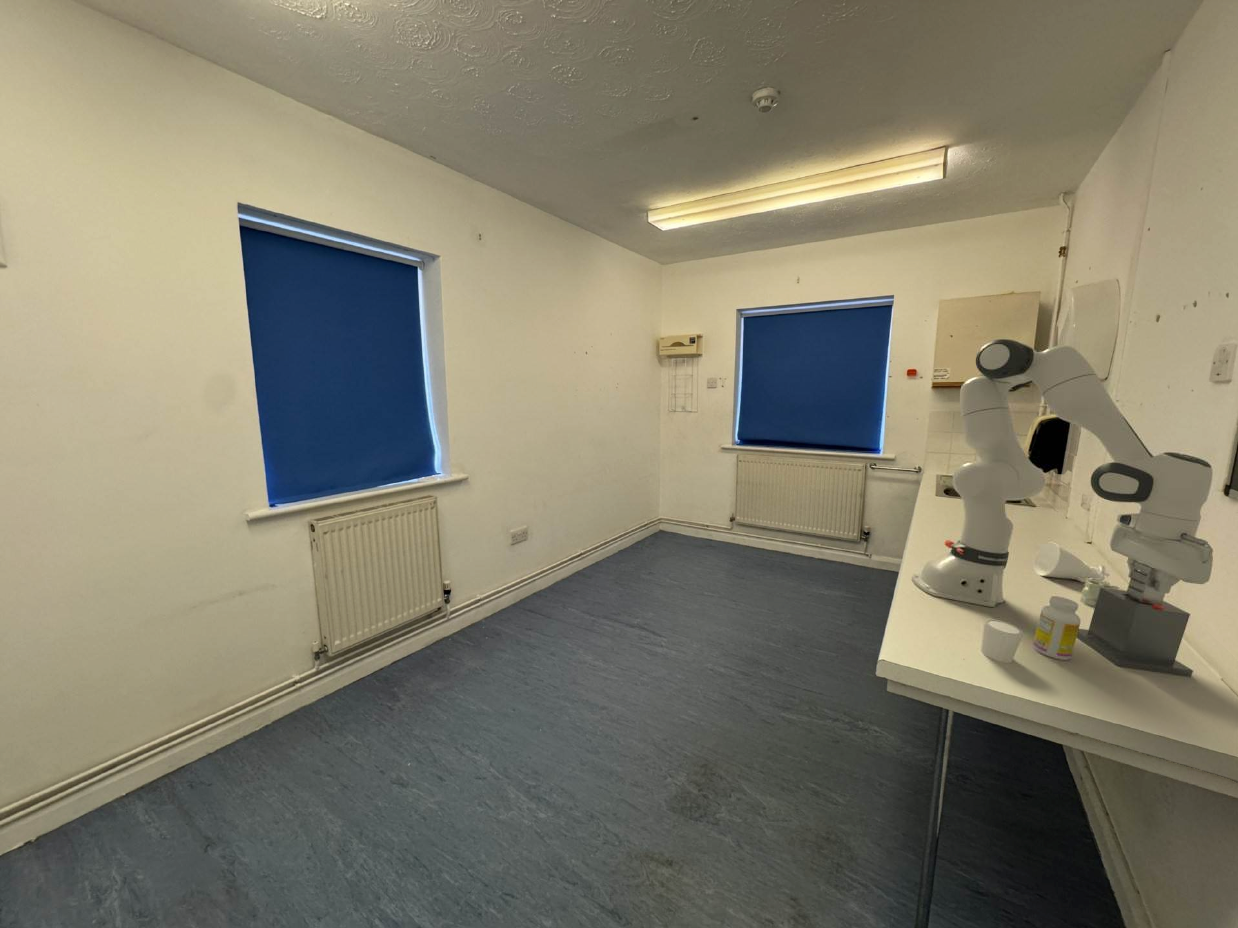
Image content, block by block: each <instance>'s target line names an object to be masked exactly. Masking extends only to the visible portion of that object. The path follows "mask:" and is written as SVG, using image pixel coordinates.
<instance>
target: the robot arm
mask: <svg viewBox="0 0 1238 928" xmlns="http://www.w3.org/2000/svg"><path fill="white" fill-rule="evenodd" d="M975 365H976V368H977V370H978V371H979V372H980V374H979V375H978V376H975V377H972V378H970V379H968V380H966V381H965V382H964V383H963V384H962V385H961V387H960V392H959V405H960V406H959V407H960V416H961V421H962V426H963V433H964V437H965V442H966V444H967V445H968V447H969V448H971V449H972V450H974V452H975V453H976V454H977V455H978V456H979V459H980V460H975V461H970V462H967V463H966V462H965V463H964V464H961V465H959V466H958V467H957V468H956V469H955V470H954V472H953V475H952V480H951V481H952V486H953V488H954V490H955V492H957V494H958V495H959V496H960V498H961V501H962V503H963V504H962V505H963V511H964V516H963V517H964V518H963V523H962V529H961V534H960V539H959V540H957V542H956V543H954V542H953V541H952V540H950V539H947V540H946V541H944V543H943V544H944V545H945V547H947V548H949V549H951V550H950V552H948V553H945V554H943V555H940V556H938V557H935V558H933V559H930V560H928V561H927V562H926V563H924V566H923V567H922V571H921V572H920V573H912V576H911V581H912V582H913V583H914V584H915V585H916V586H917V587H918V588H919V589H921V590H923V592H926V593H927V594H929V595H931V596H933V597H938V598H939V597H940V598H944V599H949V600H954V601H959V602H964V603H969V604H975V605H980V606H985V607H989V608H995V607H996V605H997V604H1001V603H1003V602H1004V595H1003V594H1004V593H1003V581H1004V580H1003V578H1004V577H1003V576H1004V572H1005V571H1004V570H1005V569H1006V566H1007V564H1008V560H1009V554H1010V552H1009V547H1010V544H1011V543H1010V542H1011V538H1012V534H1013V531H1014V524H1013V523H1012V521H1011V520H1010V519H1009V518H1008V516H1007V511H1006V502H1007V501H1021V500H1026V499H1029V498H1032V497H1035V496H1037V495H1039V494H1040V493H1041V492H1042V491H1043V489H1044V487H1045V485H1046V479H1045V478H1046V477H1045V474H1044V473H1043V471H1042V470H1041V469H1040V468H1039V467H1037V466H1036V465H1035V464H1034V463H1032V462H1031V460H1030V459H1029V458H1028V456H1027V454H1026V453H1025V451H1024V450H1023V448H1022V446H1021V444H1020V442H1019V440H1018V439H1017V436H1016V432H1015V428H1014V424H1013V420H1012V416H1011V415H1012V414H1011V411H1010V407H1009V402H1008V393H1009V392H1012V393H1013V392H1015V391H1017V390H1020V389H1021V388H1023V387H1025V386H1028V385H1031V384H1033V383H1034V384H1035V386H1036V387H1037V389H1038V391H1039V393H1040V395H1041V396H1042V398H1043V400H1044V402H1045V404H1046V405H1047V407H1048V408H1049V409H1050V410H1051V412H1052V413H1053V414H1054V415H1055V417H1057V418H1059V419H1061V420H1063V421H1065V422H1067V423H1071V424H1073V425H1075V426H1079V427H1080V428H1082V429H1085V430H1086V431H1087V432H1090V433H1091V434H1093V435H1094V436H1095V437H1097V439H1098V440H1099V442H1100V443H1101V444H1102V446H1103V448H1104V449H1105V450H1106V452H1107V453H1108V455H1109V456H1110V457H1111V459H1112V460H1113V461H1111V462H1107V463H1104V464H1102V465H1100V466H1098V467H1097V468H1095V470H1094V471H1093V472H1092V474H1091V476H1090V486H1091V489H1092V490H1093V492H1094V493H1095V494H1096V495H1097V496H1098V497H1099V498H1101V499H1104V500H1106V501H1109V502H1114V503H1135V504H1138V505H1140V510H1139V513H1119V514H1117V517H1116V522H1117V524H1116V525H1115V526H1114V528H1113V531H1112V534H1111V537H1110V541H1109V546H1110V550H1111V551H1113V552H1115V553H1117V554H1120V555H1121V556H1124V557H1126V558H1127V561H1126V562H1127V567H1128V571H1129V572H1128V578H1129V579H1131V576H1132V572H1133V569H1134V566H1135V562H1140V563H1142V564H1145V565H1147V566H1149V567H1152V568H1154V569H1156V570H1159V571H1161V572H1163V573H1164V574H1163V578H1165V579H1164V580H1163V581H1162V582H1161V583H1156V584H1155V588H1154V589H1155V590H1157V591H1159V592H1161V593H1165V595H1166V594H1167V595H1168V594H1170V592H1171V589H1172V587H1173V586H1175V585H1176V584H1178V583H1179V582H1180V581H1182V582H1185V583H1188V584H1194V585H1195V584H1196V585H1204V584H1206V583H1208V582H1209V581H1210V578H1211V574H1212V571H1213V561H1214V556H1213V553H1214V550H1213V547H1211V545H1210V543H1209V542H1208V540H1205V539H1202V538H1198V537H1196V535H1197V531H1198V529H1199V525H1200V523H1201V519H1202V517H1201V510H1202V507H1203V506H1204V505H1205V504H1206V502H1207V501H1208V497H1209V494H1210V490H1211V488H1212V487H1211V486H1212V483H1213V482H1212V481H1213V468H1212V465H1210V463H1209V462H1208V461H1207V460H1204V459H1202V458H1200V457H1195V456H1193V455H1189V454H1183V453H1180V452H1171V451H1170V452H1168V451H1167V452H1162V453H1160V454H1157V455H1153V454H1152V453H1151V452H1150V451H1149V449H1148V448H1147V446H1146V445H1145V444H1144V443H1143V441H1142V439H1141V438H1140V437H1139V435H1138V434H1137V432H1136V431H1135V430H1134V429H1133V427H1132V426H1131V424H1130V423H1129V421H1127V419H1126V418H1125V417H1124V416H1123V414H1122V412H1121V411H1120V409H1119V408H1118V407H1117V405H1116V403H1115V402H1114V401H1113V399H1112V397H1111V396H1110V394H1109V392H1108V390H1107V389H1106V387H1105V386H1104V384H1103V383H1102V380H1101V379H1100V378H1099V377H1100V376H1099V375H1098V374H1097V373H1096V371H1095V369H1094V368H1093V367H1092V366H1091V364H1090V363H1089V362H1088V360H1087V359H1086V358H1085V357H1084V356H1083V355H1082V354H1081V353H1080V352H1079V351H1078V350H1077V349H1076V348H1075V347H1072V346H1070V345H1056V346H1052V347H1049V348H1047V349H1045V350H1043V351H1038V350H1037V349H1034V348H1033V347H1032V346H1029V345H1028V344H1025V343H1022V342H1019V341H1016V340H1014V339H1007V338H1002V339H1001V338H999V339H995V340H992V341H990V342H987V343H985V344H984V345H983V346H981V348H980V349H979V350H978V352H977V354H976V357H975Z"/></svg>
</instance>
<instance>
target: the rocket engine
mask: <svg viewBox="0 0 1238 928" xmlns="http://www.w3.org/2000/svg"><path fill="white" fill-rule="evenodd" d="M1033 560H1034V561H1033V569H1034V572H1035V573H1036V574H1037V575H1038V576H1039V577H1040V576H1041V577H1046V578H1056V579H1073V580H1074V581H1079V582H1081V583H1085V582H1086V581H1087V580H1092V581H1096V582H1099V583H1102V584H1103V585H1104V587H1105V588H1109V587H1110V586H1111V584H1110V582H1108V581H1106V580H1105V579H1106V577H1110V571H1109V572H1108V571H1106V567H1105V566H1104V565H1103V564H1102V565H1099V566H1098V567H1096V566H1089V565H1088V564H1087V563H1086V562H1085V561H1084V560H1082V559H1080V558H1079V557H1078V556H1076V555H1075V554H1073V552H1071V551H1070V550H1068V549H1066V548H1065V547H1063V546H1061V545H1059V544H1057V543H1056V542H1051V541H1050V542H1047V543H1045V544H1043V545H1042V546H1041V547H1040V548H1039V549H1038V551H1037V553H1036V555H1035V557H1034V559H1033Z"/></svg>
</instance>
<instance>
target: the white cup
mask: <svg viewBox="0 0 1238 928" xmlns="http://www.w3.org/2000/svg"><path fill="white" fill-rule="evenodd" d="M982 627H983V628H982V636H981V647H980V652H981V653H982V654H983V655H984V656H986V657H987V658H989V659H991V660H993V661H996V662H999V663H1004V664H1005V663H1006V664H1009V663H1012V662H1013V660H1014V657H1015V654H1016V652H1017V650H1018V647H1019V645H1020V642H1021V640H1022V638H1023V635H1024V632H1023V630H1022V629H1021V628H1018V627H1017V626H1016V625H1013V624H1011V623H1009V622H1005V621H1002V620H998V619H993V618H992V619H991V618H988V619H985V620H984V621H983V626H982Z"/></svg>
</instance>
